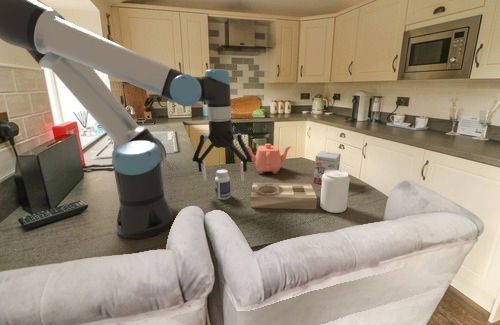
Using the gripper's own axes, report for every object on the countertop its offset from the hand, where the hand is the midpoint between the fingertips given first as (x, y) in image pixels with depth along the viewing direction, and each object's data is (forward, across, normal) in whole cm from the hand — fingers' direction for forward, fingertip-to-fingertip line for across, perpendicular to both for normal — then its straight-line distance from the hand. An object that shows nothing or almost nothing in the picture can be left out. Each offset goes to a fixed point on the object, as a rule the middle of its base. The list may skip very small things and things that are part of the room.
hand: (223, 180), depth 90 cm
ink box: (+7, -40, -17) cm, 44 cm away
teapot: (+7, -16, -30) cm, 34 cm away
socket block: (+7, -21, +2) cm, 22 cm away
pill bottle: (+7, 0, 0) cm, 7 cm away
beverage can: (+7, -37, +7) cm, 38 cm away
